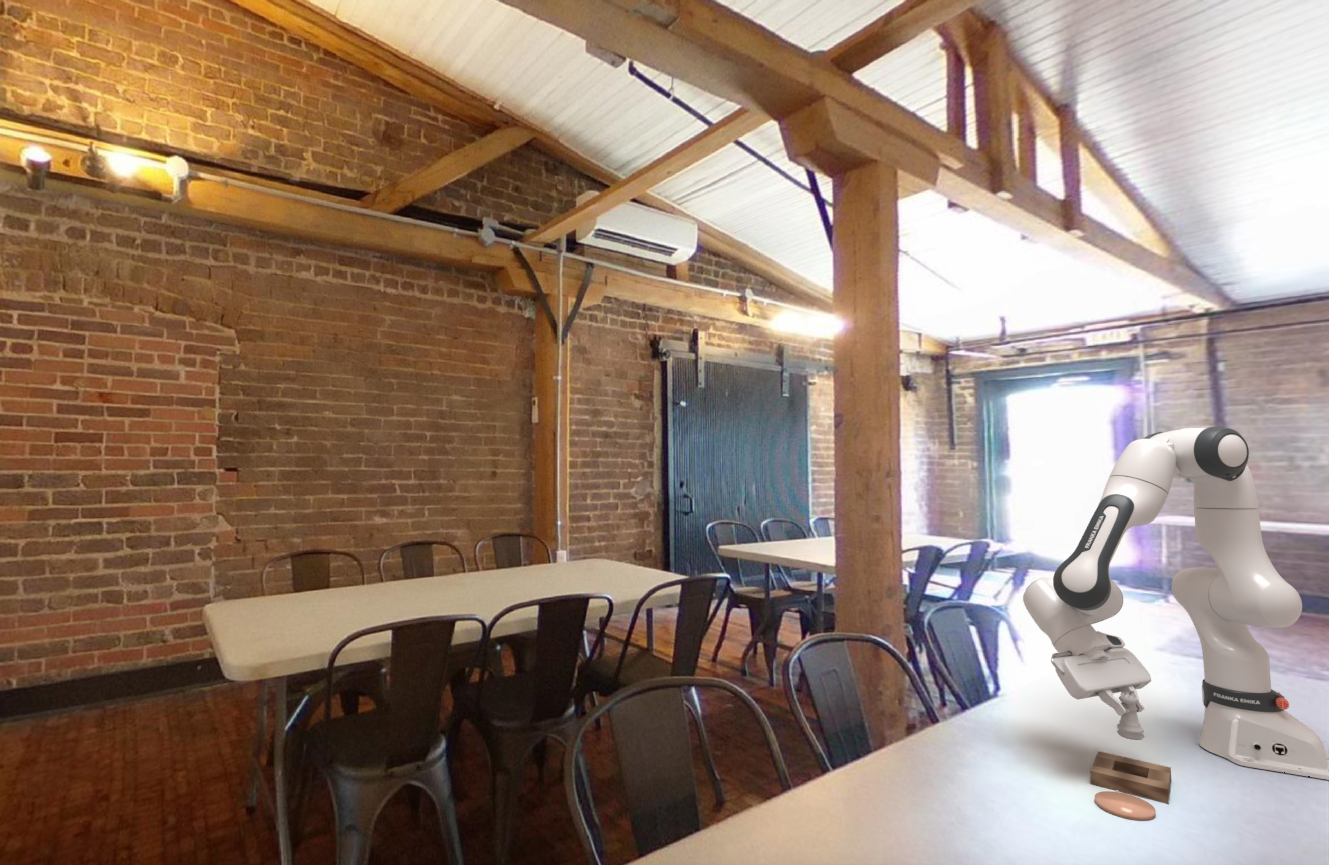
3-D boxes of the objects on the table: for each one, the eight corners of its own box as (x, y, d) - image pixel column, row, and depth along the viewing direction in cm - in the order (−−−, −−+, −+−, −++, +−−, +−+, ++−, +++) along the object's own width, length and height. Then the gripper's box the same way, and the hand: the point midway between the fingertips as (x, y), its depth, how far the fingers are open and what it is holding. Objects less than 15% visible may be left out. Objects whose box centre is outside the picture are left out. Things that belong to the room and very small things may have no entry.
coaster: (1157, 806, 119) (1157, 801, 119) (1154, 826, 112) (1153, 821, 112) (1098, 790, 124) (1098, 786, 124) (1091, 809, 117) (1091, 804, 117)
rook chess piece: (1111, 732, 131) (1109, 691, 131) (1131, 731, 131) (1129, 690, 132) (1129, 741, 126) (1127, 698, 127) (1150, 739, 127) (1148, 697, 127)
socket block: (1171, 780, 129) (1170, 767, 129) (1168, 803, 120) (1167, 789, 120) (1098, 763, 136) (1098, 751, 137) (1090, 783, 127) (1090, 770, 127)
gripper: (1055, 646, 133) (1105, 711, 123) (1126, 636, 140) (1178, 697, 130) (1037, 662, 137) (1084, 727, 127) (1106, 652, 144) (1156, 713, 134)
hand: (1132, 712), depth 128 cm, fingers closed on rook chess piece, 3 cm apart
